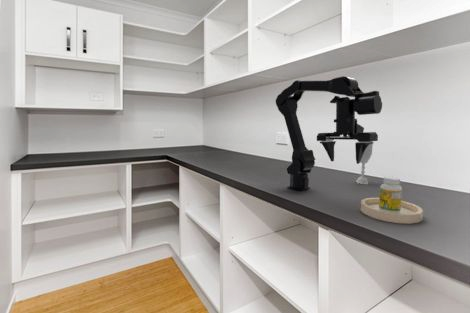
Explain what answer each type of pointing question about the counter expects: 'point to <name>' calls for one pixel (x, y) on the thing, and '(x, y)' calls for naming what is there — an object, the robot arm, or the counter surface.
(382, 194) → the supplement bottle
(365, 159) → the chalice
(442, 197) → the counter surface
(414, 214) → the round tray
